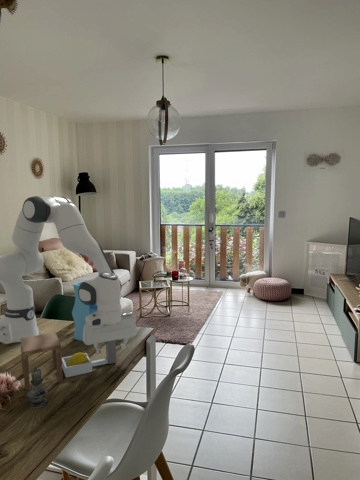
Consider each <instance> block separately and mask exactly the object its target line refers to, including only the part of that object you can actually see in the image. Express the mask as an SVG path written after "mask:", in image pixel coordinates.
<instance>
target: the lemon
mask: <svg viewBox="0 0 360 480" xmlns="http://www.w3.org/2000/svg"><path fill="white" fill-rule="evenodd" d="M84 353H85V352H76V353H73V354H72V355H70V356H71V357H70V359H69V360H68V366H67V367H69V366H74V365H79V364H84V363H86V362H87V355H88V353H87V354H84Z"/></svg>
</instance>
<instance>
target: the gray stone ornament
mask: <svg viewBox="0 0 360 480" xmlns="http://www.w3.org/2000/svg"><path fill="white" fill-rule="evenodd" d="M30 376H31V380H30V384H31V389H30V390H29V391H28V392H27V394H26V395H27V397H28V400H29V401H30V402H29V404H28V406H29V408H30V409H40V408H43V407H44V406H46V405H47V403H48V399H46V398H47V394H48V392H49V390H48V388H46V387H44V386H43V381H44V378H43V376H42V369H40V368H38V367H37V366H35V367H34V369H33V370H32V371H31V375H30Z"/></svg>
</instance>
